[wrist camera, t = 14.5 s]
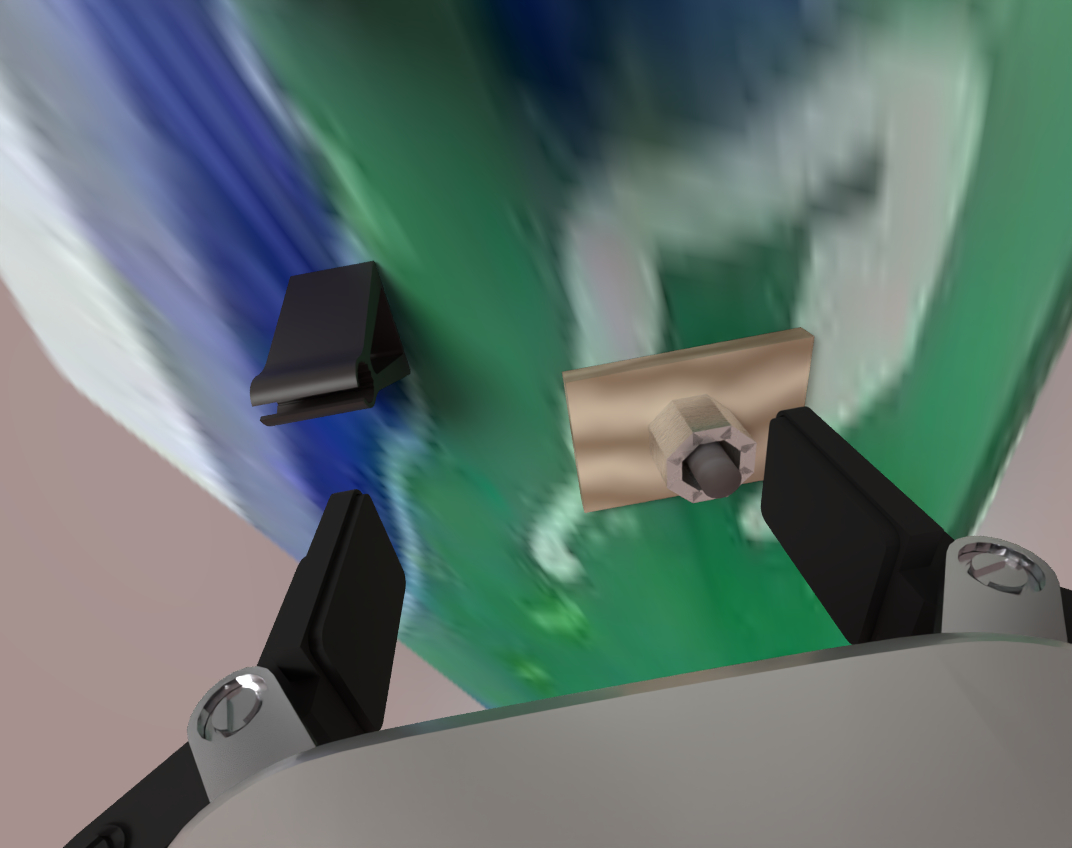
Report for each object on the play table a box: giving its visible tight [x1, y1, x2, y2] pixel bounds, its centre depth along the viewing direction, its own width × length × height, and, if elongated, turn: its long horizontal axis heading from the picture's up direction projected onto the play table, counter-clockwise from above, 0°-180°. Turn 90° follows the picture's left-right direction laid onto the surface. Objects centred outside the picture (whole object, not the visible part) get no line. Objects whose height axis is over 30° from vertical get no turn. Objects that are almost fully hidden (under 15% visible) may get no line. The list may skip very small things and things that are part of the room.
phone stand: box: [250, 261, 410, 426], centre depth 33 cm, size 9×6×12 cm, turn 9°
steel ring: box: [648, 394, 757, 503], centre depth 41 cm, size 7×7×5 cm
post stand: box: [562, 327, 814, 513], centre depth 41 cm, size 14×20×9 cm
